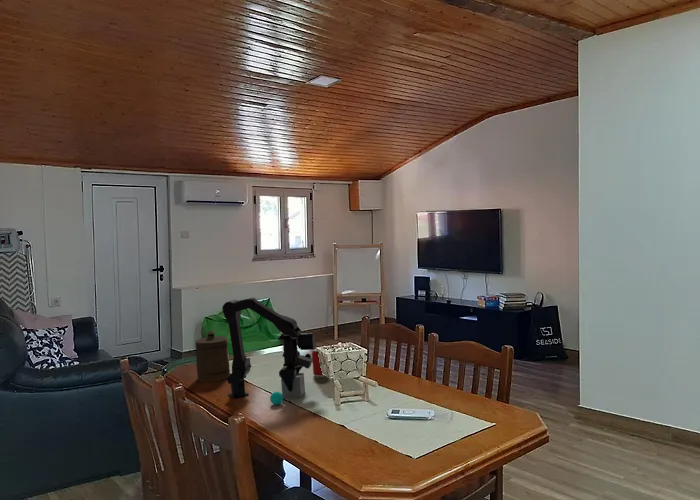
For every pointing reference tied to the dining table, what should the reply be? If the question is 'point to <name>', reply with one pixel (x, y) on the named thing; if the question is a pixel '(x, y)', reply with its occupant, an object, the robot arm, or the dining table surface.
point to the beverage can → (316, 364)
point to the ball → (276, 398)
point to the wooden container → (212, 358)
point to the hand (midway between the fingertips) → (293, 387)
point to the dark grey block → (294, 387)
